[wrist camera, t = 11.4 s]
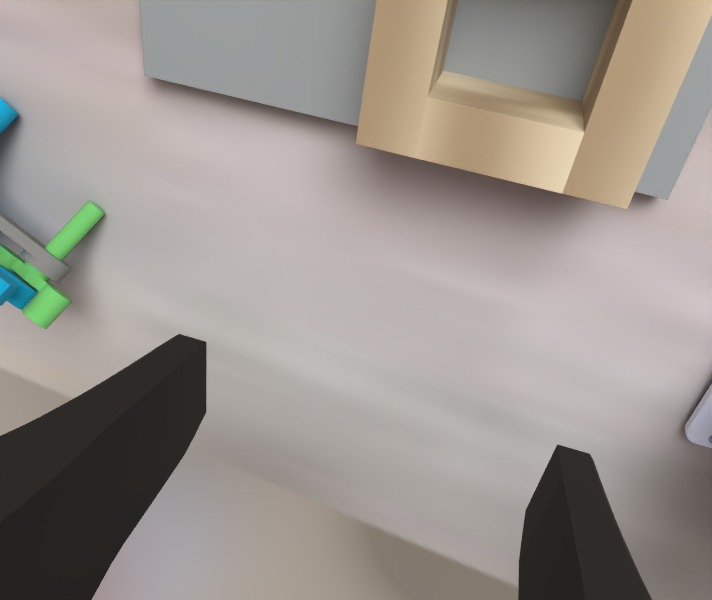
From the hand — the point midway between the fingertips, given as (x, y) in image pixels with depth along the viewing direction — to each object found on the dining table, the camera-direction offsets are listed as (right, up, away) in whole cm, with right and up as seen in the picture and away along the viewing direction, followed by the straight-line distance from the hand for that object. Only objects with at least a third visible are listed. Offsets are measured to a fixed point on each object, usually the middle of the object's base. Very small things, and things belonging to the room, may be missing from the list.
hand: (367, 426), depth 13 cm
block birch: (+4, +10, +3) cm, 11 cm away
